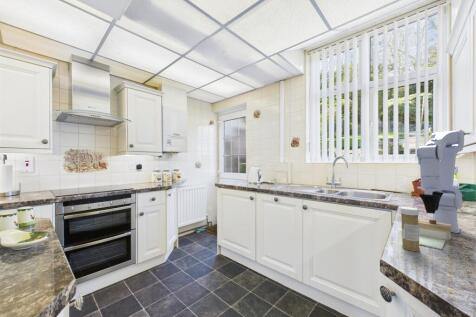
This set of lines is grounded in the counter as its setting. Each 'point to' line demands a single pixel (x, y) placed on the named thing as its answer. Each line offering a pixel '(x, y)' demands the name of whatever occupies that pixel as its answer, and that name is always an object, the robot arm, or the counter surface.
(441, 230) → the lid
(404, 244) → the sprinkles bottle
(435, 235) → the butter dish
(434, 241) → the mat
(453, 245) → the counter surface
